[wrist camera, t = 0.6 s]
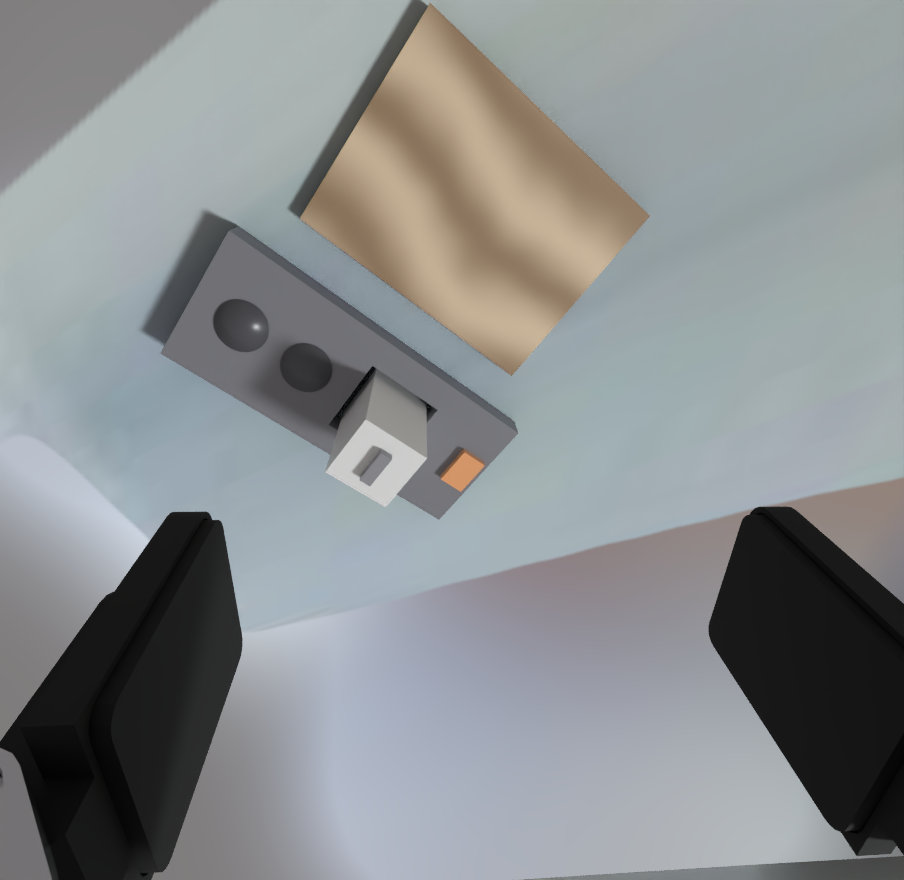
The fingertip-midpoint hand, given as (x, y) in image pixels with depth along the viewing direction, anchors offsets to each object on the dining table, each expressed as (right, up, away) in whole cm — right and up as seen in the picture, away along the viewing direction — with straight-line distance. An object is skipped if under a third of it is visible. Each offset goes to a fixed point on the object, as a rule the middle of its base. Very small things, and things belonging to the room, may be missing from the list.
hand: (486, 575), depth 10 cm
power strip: (-8, +7, +32) cm, 33 cm away
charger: (-6, +5, +33) cm, 34 cm away
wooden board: (+1, +17, +26) cm, 32 cm away
